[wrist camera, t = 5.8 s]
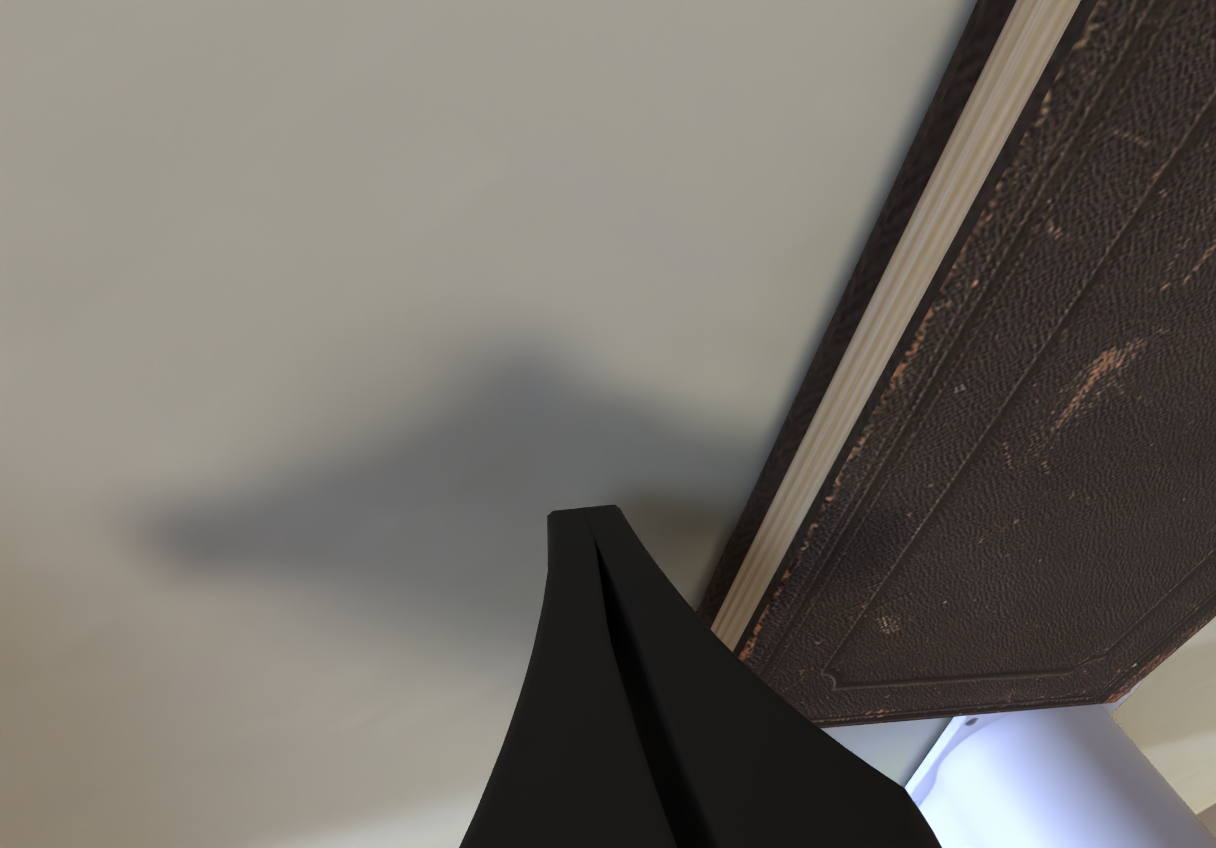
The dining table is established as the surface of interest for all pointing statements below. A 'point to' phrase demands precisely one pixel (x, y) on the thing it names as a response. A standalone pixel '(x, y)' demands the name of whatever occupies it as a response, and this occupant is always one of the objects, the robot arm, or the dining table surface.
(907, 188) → the hardcover book
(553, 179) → the dining table surface
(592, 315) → the dining table surface
